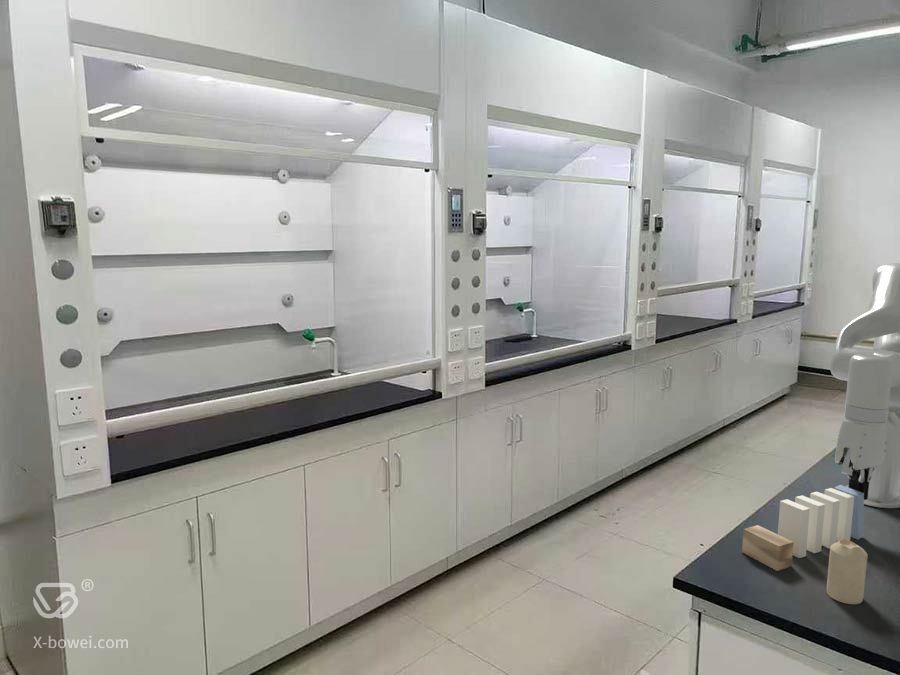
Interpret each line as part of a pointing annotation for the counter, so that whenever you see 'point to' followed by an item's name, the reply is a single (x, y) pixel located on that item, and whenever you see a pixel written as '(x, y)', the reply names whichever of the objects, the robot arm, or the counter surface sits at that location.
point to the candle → (846, 572)
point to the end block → (767, 547)
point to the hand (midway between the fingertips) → (857, 497)
